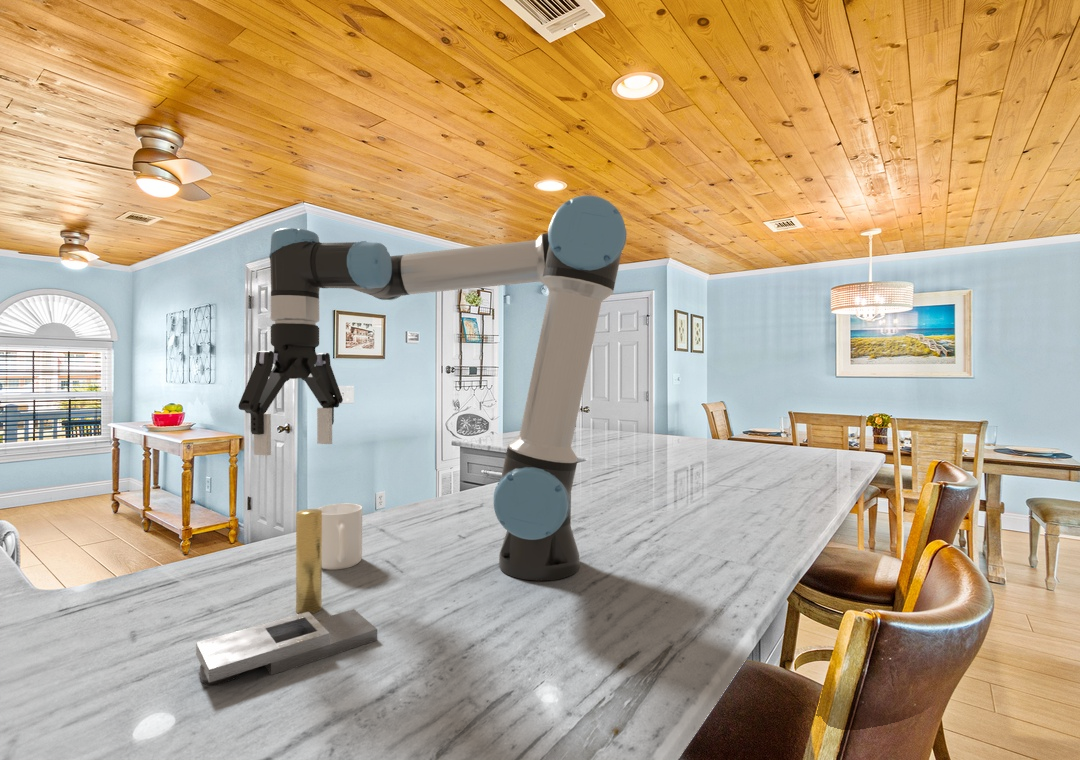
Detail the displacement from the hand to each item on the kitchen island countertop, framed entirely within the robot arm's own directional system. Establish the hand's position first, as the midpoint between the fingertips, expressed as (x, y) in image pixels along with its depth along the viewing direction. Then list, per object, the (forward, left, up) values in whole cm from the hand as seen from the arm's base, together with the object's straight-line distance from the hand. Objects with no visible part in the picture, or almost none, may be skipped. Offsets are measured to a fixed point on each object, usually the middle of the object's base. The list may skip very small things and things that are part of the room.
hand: (295, 449), depth 93 cm
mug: (-1, -10, -23) cm, 25 cm away
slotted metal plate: (-16, +18, -23) cm, 33 cm away
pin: (-9, +7, -23) cm, 26 cm away
